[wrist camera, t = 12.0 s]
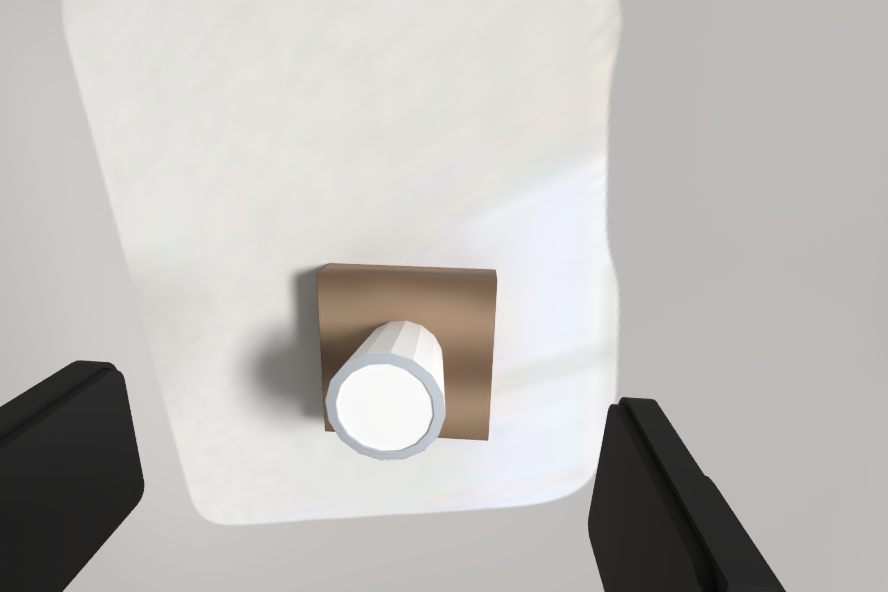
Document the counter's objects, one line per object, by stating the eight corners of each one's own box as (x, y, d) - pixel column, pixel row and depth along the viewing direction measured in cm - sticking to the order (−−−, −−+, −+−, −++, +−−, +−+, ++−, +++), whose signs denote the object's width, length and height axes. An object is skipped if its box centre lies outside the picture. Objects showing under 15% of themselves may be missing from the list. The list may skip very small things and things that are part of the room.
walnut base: (329, 263, 36) (316, 273, 33) (495, 269, 36) (497, 280, 33) (336, 410, 40) (325, 431, 37) (487, 418, 39) (488, 440, 36)
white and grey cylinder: (351, 395, 36) (322, 453, 29) (356, 305, 34) (327, 345, 27) (446, 408, 36) (438, 469, 29) (457, 318, 34) (452, 361, 27)
